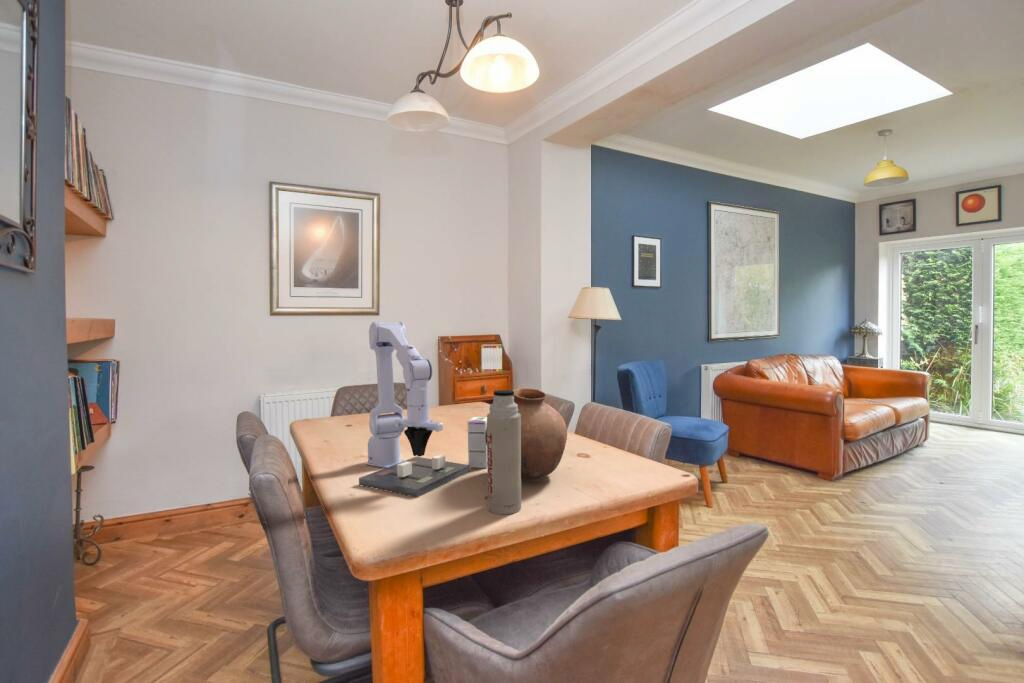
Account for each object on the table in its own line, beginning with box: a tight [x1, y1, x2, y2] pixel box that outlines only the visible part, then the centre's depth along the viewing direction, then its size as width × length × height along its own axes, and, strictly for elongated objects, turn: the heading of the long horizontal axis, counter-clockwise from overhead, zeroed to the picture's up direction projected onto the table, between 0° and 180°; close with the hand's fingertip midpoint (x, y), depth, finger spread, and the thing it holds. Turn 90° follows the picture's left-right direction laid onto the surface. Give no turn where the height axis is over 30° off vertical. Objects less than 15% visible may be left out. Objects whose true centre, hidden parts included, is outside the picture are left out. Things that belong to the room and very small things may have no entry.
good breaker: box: [431, 454, 446, 469], centre depth 146 cm, size 2×4×3 cm, turn 151°
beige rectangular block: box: [397, 462, 412, 477], centre depth 139 cm, size 2×4×3 cm, turn 151°
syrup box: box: [467, 416, 487, 469], centre depth 156 cm, size 6×6×14 cm
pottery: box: [485, 387, 568, 481], centre depth 143 cm, size 23×23×25 cm
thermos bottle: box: [486, 389, 522, 515], centre depth 120 cm, size 8×8×28 cm
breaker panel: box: [358, 456, 471, 498], centre depth 144 cm, size 20×24×2 cm
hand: (418, 455), depth 137 cm, fingers closed
